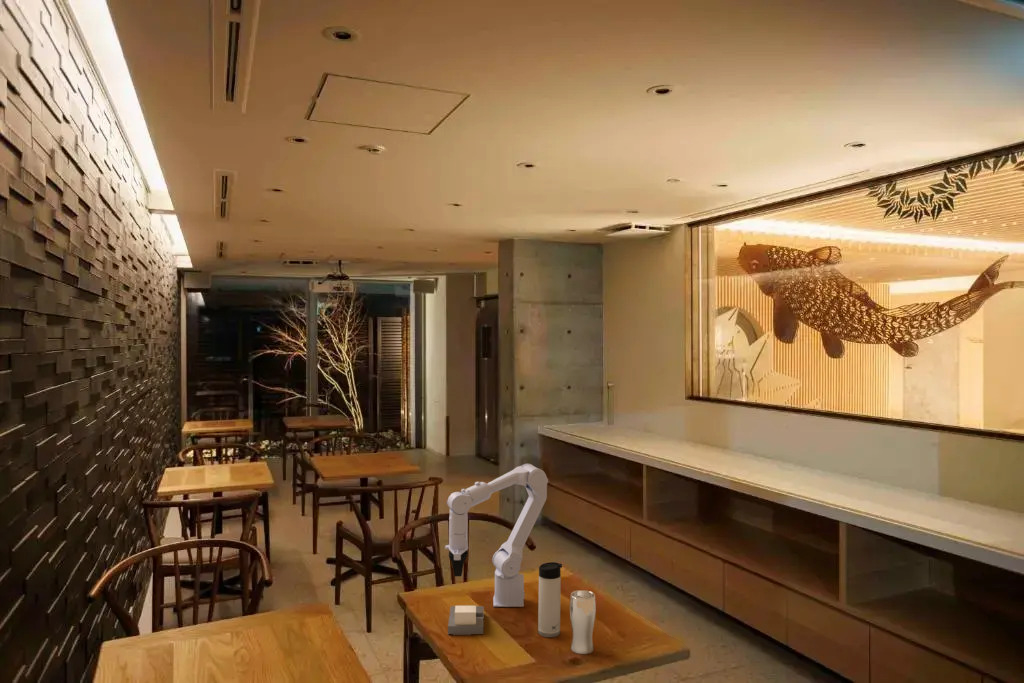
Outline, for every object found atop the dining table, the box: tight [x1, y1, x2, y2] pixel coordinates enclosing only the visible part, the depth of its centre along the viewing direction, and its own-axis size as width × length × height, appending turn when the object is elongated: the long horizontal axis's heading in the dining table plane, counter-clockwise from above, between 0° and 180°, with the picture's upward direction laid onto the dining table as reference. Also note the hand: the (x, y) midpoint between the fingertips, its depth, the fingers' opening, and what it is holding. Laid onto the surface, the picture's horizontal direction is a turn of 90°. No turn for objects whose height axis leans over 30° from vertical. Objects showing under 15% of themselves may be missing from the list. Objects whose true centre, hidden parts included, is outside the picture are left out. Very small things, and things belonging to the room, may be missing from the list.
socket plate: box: [447, 605, 485, 636], centre depth 206 cm, size 10×14×2 cm
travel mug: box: [537, 561, 563, 638], centre depth 201 cm, size 6×7×20 cm
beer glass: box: [569, 589, 597, 655], centre depth 191 cm, size 7×7×15 cm
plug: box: [454, 605, 483, 625], centre depth 203 cm, size 8×5×6 cm, turn 93°
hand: (458, 575), depth 217 cm, fingers closed
